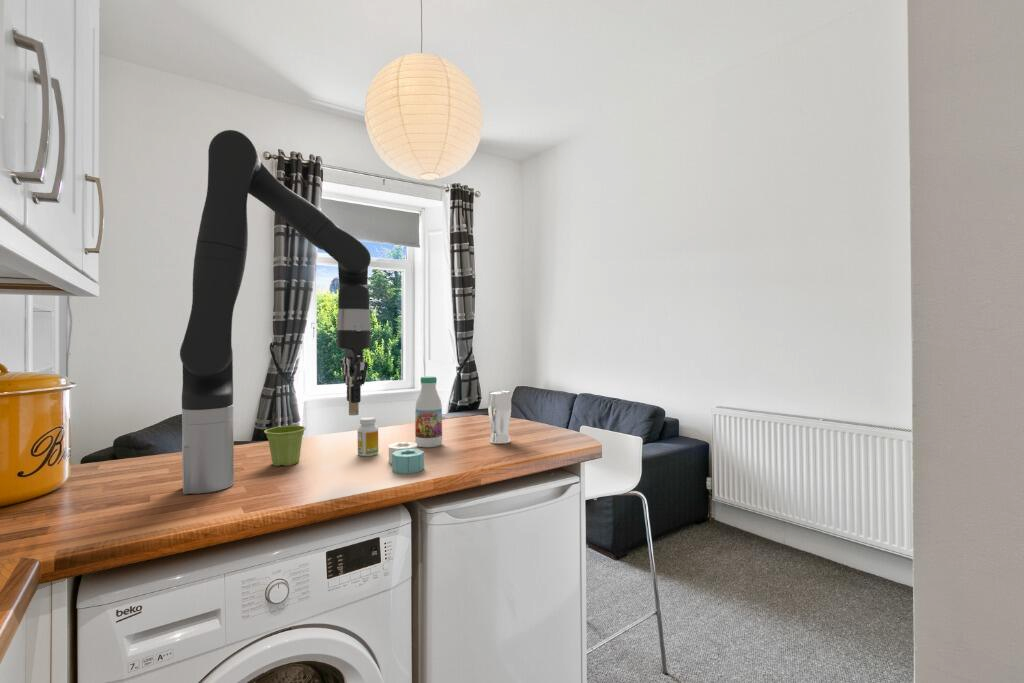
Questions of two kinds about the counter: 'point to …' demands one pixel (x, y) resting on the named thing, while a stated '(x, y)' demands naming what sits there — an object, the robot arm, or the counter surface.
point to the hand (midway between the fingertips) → (353, 401)
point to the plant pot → (285, 444)
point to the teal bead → (408, 461)
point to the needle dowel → (353, 404)
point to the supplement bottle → (367, 437)
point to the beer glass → (499, 416)
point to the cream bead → (400, 448)
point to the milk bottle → (428, 415)
